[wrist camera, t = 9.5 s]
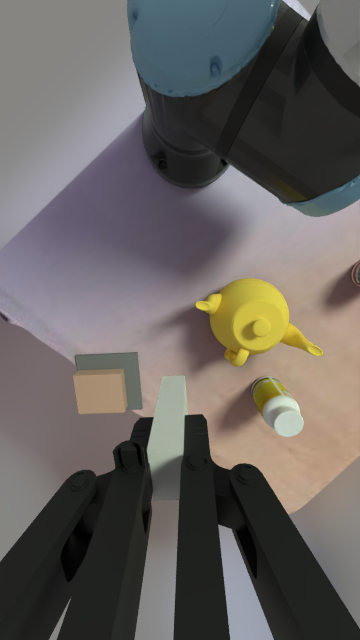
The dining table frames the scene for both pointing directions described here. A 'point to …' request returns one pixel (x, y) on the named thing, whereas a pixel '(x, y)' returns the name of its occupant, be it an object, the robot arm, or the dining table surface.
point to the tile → (100, 391)
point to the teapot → (252, 320)
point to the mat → (117, 362)
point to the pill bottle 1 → (277, 406)
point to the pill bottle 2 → (356, 274)
